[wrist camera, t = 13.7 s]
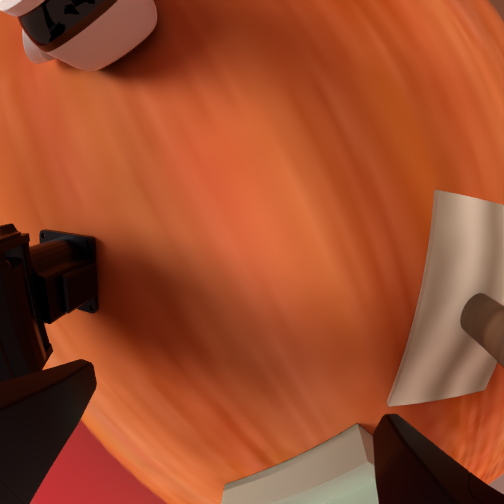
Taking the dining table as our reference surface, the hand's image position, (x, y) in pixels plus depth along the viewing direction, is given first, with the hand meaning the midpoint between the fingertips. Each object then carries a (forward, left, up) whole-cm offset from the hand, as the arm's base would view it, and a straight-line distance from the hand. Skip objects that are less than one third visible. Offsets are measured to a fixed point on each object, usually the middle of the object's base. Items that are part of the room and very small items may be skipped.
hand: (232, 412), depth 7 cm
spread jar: (-16, +19, -13) cm, 28 cm away
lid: (+19, -1, -14) cm, 23 cm away
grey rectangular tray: (+10, -24, -13) cm, 29 cm away
